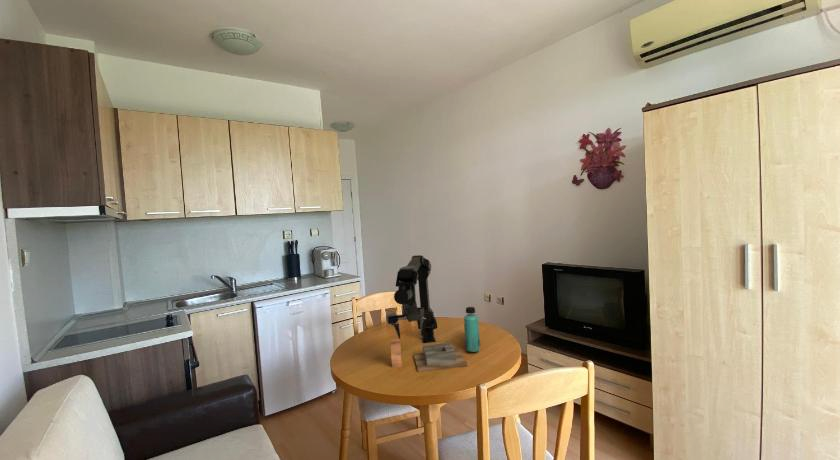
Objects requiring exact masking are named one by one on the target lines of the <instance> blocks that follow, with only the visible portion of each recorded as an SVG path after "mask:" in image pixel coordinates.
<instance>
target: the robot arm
mask: <svg viewBox="0 0 840 460" xmlns="http://www.w3.org/2000/svg"><path fill="white" fill-rule="evenodd" d="M431 271H432V263H431V261H430V260H429V259H427V258H425V256H424V255H422V254H421V255H418V254H415V255H412V256H411V259H410V260H409V262H408V264H407V265H406V266H403V267H400V268H399V270H398V271H397V272H396V273H397V274H396V281H395V287H398V288H397V290H396V291H395V292H394V294H393V295H394V296H393V299H394V301H395V303H397V304H398V305H401V309H402V310H401V313H402V314H397V313H396V312H392V313H387V314H386V315H385V322H386V323H387V324H388V325H389V324H390V325H391V326H393V328H394V329H395V332H396V334H397V335H396V336H397V337H398V339H400V340H401V331H400V323H399V321H401V320H407V321H408V322H409V323H412V322H416V323H417V328H418V330H420V331H419V332H420V333H419V334H420V337H421V342H422V344H425V343H434V342H437V340H436V338H435V333H434V332H435V330H437V329H438V322H437V318H436V317H435V315H434V311H433V310H432V308H431V306H430V295H429V294H430V292H429V280H428V279H429V277H430V275H431ZM417 284H418V292H419V295H418V296H419V305H420V306H419V307H418V305H417V297H416V285H417Z"/></svg>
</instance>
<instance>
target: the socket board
mask: <svg viewBox="0 0 840 460" xmlns="http://www.w3.org/2000/svg"><path fill="white" fill-rule="evenodd" d="M413 357H414V361H415V365H416V369H417V372H418V373H419V372H420V373H421V372H429V371H438V370H445V369H447V370H448V369H455V368H464V367H468V363H467V360H465V357H464V356H463V355H462V352H461V351H460V350H459V348H453V346H452V344H451V343H450V342H444V343H443V342H442V343H434V344H424V345H422V352H417V353H413Z"/></svg>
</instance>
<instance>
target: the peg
mask: <svg viewBox="0 0 840 460" xmlns="http://www.w3.org/2000/svg"><path fill="white" fill-rule="evenodd" d="M389 341H390V342H389V343H390V359H391V368H397V367H399V368H400V367H402V366H403V365H402V351H401V350H402V349H401V338H400V339H399V338H398V339H390V340H389Z"/></svg>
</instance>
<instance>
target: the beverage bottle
mask: <svg viewBox="0 0 840 460" xmlns="http://www.w3.org/2000/svg"><path fill="white" fill-rule="evenodd" d="M465 313H466V315H465V316H464V317H463V323H464V325H465V330H464V345H465V349H466V351H468V352H473V353H474V352H479V351H481V340H480V334H481V333H480V324H479V317H478V315H476V307H474V306H468V307H465ZM464 325H463V326H464Z"/></svg>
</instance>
